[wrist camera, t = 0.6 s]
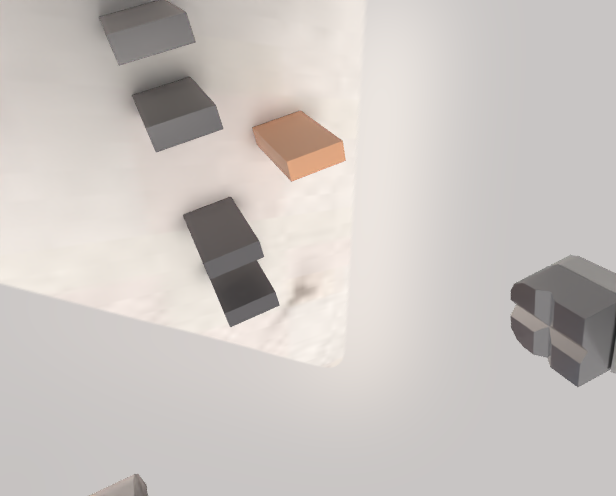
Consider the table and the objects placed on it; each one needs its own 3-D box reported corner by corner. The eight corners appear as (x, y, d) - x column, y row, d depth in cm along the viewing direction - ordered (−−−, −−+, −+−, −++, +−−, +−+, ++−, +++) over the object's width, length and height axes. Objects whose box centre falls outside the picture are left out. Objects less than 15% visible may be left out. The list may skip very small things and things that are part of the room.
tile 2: (182, 214, 46) (203, 263, 39) (230, 196, 47) (258, 240, 40) (189, 229, 47) (210, 279, 40) (235, 211, 48) (264, 256, 41)
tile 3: (132, 95, 38) (145, 128, 32) (189, 76, 40) (215, 104, 33) (140, 115, 40) (156, 152, 33) (197, 97, 41) (223, 129, 34)
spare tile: (252, 127, 44) (286, 161, 37) (300, 110, 45) (342, 140, 38) (257, 144, 45) (291, 181, 38) (304, 127, 46) (345, 160, 39)
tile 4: (98, 16, 35) (106, 34, 28) (163, -2, 36) (186, 11, 29) (109, 42, 36) (118, 65, 29) (171, 23, 37) (195, 42, 30)
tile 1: (202, 261, 49) (224, 313, 42) (246, 243, 50) (275, 291, 43) (208, 274, 50) (230, 327, 43) (251, 256, 51) (279, 305, 44)
